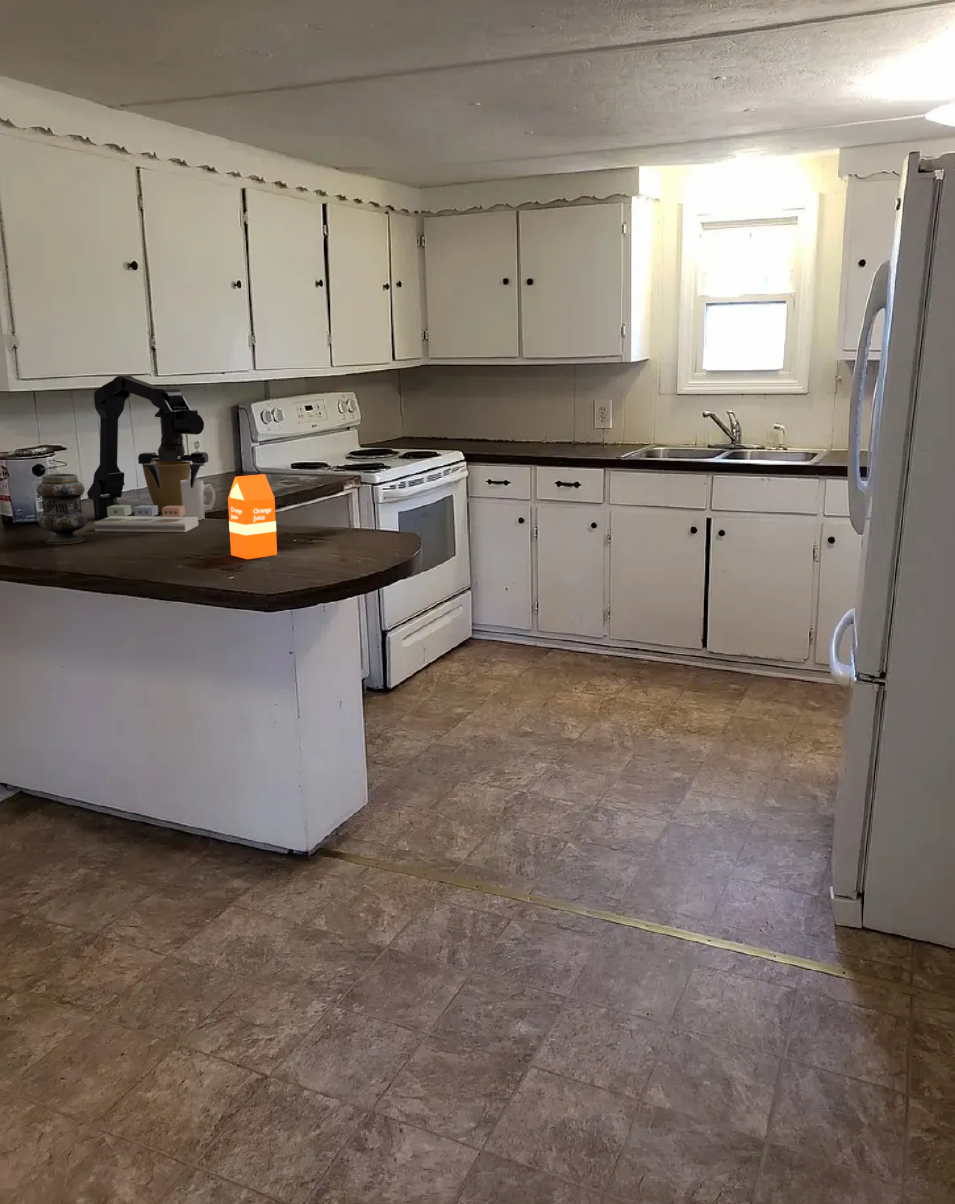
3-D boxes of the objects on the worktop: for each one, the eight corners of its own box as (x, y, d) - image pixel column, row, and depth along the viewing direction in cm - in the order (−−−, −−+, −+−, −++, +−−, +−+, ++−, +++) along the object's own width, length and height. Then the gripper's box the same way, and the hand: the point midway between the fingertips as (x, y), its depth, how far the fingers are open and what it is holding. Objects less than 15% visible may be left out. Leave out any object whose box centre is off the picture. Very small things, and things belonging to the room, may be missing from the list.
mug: (182, 521, 297) (180, 482, 294) (182, 518, 303) (180, 479, 300) (217, 520, 300) (214, 481, 297) (216, 517, 306) (214, 478, 303)
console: (94, 531, 279) (93, 522, 279) (111, 524, 291) (111, 515, 291) (184, 532, 279) (184, 523, 278) (198, 525, 291) (197, 516, 290)
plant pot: (156, 517, 305) (152, 465, 301) (138, 511, 316) (134, 461, 313) (201, 512, 314) (198, 462, 311) (182, 507, 326) (179, 459, 322)
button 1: (107, 516, 282) (106, 507, 281) (114, 513, 287) (113, 505, 286) (124, 516, 282) (123, 507, 281) (131, 513, 287) (130, 505, 286)
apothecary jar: (98, 539, 267) (93, 473, 263) (69, 546, 256) (63, 477, 252) (61, 536, 270) (54, 471, 266) (30, 544, 259) (23, 476, 255)
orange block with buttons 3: (162, 516, 281) (161, 508, 281) (168, 514, 286) (167, 505, 286) (179, 517, 281) (178, 508, 281) (185, 514, 286) (184, 505, 286)
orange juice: (230, 555, 247) (226, 475, 242) (260, 550, 253) (257, 472, 248) (247, 559, 241) (243, 478, 237) (277, 554, 247) (274, 475, 243)
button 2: (134, 516, 282) (134, 507, 281) (141, 513, 287) (140, 505, 286) (151, 516, 281) (151, 508, 281) (158, 513, 287) (157, 505, 286)
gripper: (130, 435, 272) (135, 491, 275) (199, 435, 273) (202, 491, 277) (141, 433, 283) (145, 487, 286) (207, 432, 284) (210, 486, 288)
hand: (175, 488), depth 284 cm, fingers open, 9 cm apart
